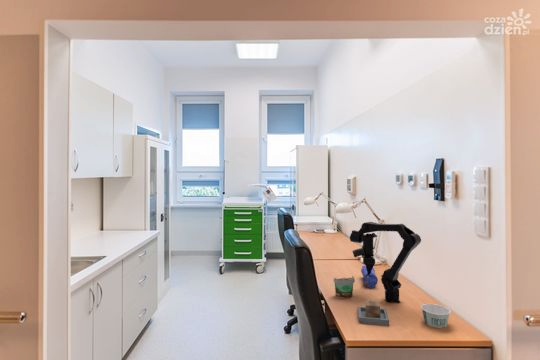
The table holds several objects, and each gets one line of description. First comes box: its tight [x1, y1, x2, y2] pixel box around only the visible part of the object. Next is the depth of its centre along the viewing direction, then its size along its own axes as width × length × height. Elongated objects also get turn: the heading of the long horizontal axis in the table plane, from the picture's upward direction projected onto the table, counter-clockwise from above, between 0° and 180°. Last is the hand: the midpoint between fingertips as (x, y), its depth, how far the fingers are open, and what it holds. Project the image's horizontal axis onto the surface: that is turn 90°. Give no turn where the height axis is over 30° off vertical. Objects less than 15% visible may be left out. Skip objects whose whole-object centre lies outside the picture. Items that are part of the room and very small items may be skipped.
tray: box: [357, 305, 390, 326], centre depth 151 cm, size 13×13×2 cm
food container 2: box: [420, 303, 452, 329], centre depth 145 cm, size 12×12×7 cm
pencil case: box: [360, 264, 379, 289], centre depth 202 cm, size 22×9×10 cm, turn 167°
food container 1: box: [333, 275, 356, 299], centre depth 178 cm, size 12×6×10 cm, turn 105°
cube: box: [365, 300, 381, 318], centre depth 151 cm, size 6×6×6 cm
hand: (368, 272), depth 183 cm, fingers open, 9 cm apart
